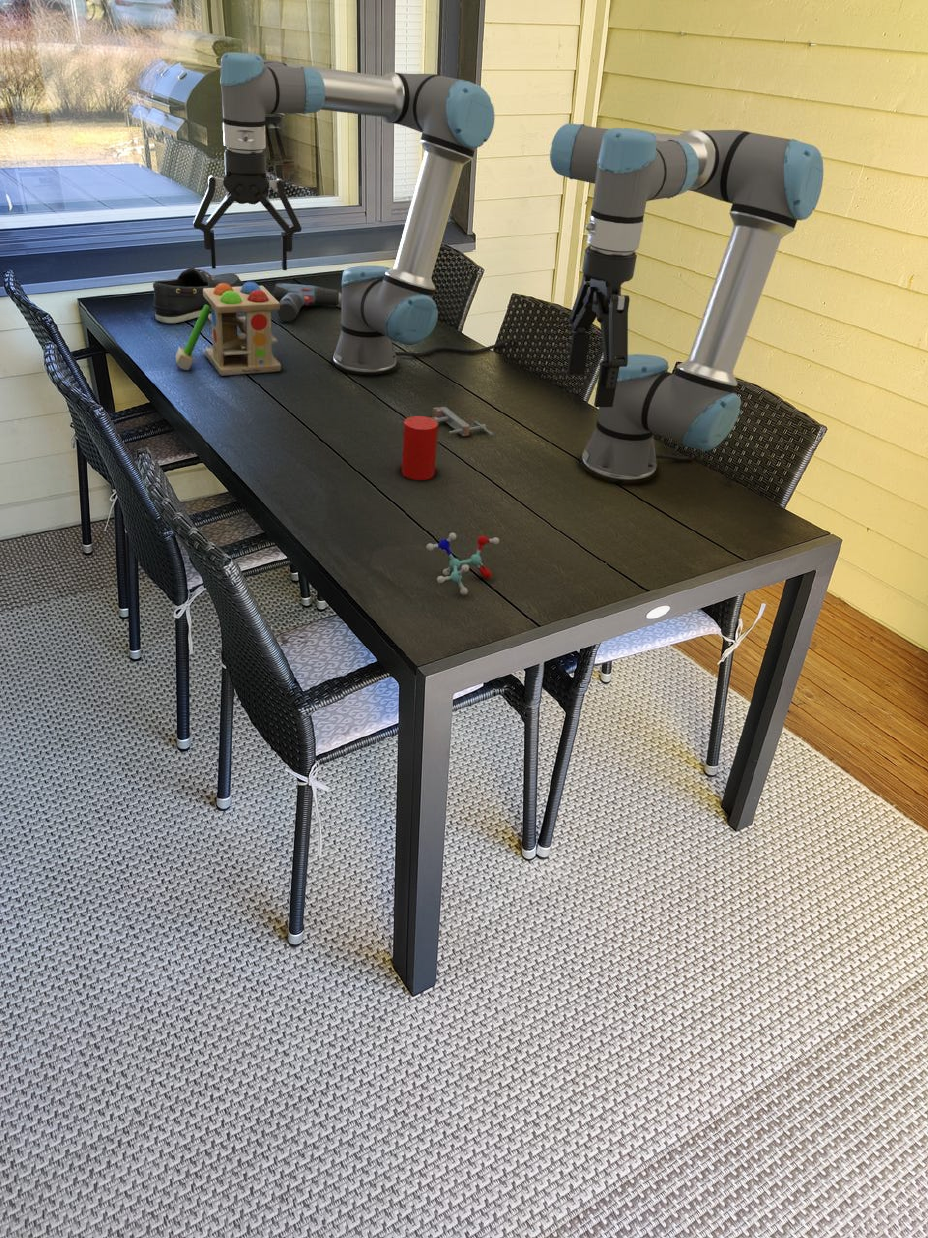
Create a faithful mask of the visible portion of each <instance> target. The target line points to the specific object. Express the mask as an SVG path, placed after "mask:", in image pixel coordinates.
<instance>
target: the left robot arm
mask: <svg viewBox="0 0 928 1238" xmlns="http://www.w3.org/2000/svg"><path fill="white" fill-rule="evenodd" d="M219 84H220V89H221V91H220V92H221V104H222V106H221V107H222V131H223V134H222V135H223V146H224V147H225V148H226V149H225V150H224V152H223V153H224V172H225V173H224V177H218V176H215V175H213V174H210V175H208V180H207V189H206V191H205V193H204V196H203V198H202V200H201V203H200V205H199V207H198V210H197V212H196V215H195V216H194V219H193V221H192V223H193V224H192V226H193V228H194V229H195V230H200V231H202V233H203V245H204V247H203V248H204V249H205V250H206V251H207V250H208V251H209V250H210V263H211V269H217V263H216V262H217V261H216V245H215V244H216V243H215V242H216V241H215V231H214V229H213V228H214V227H215V225H217V223H218V221H219V220H220V219H221V218H222V217H223V216H224V214H225V213H226V212H227V210H228V209H229V208H230V207H231V206H232V205H233V204H234V202H235V203H237V204H239V205H245V204H249V205H254V206H255V205H256V204H258V203H260V204H261V205H262V206H263V207H264V208H265V210H266V211H267V212H268V213H269V215H270V216H271V217H272V218H273V219H274V221H275V222H276V223H277V224H278V226H279V227H280V228H281V229H282V230H283V231H282V232H280V235H281V237H280V239H281V240H280V241H281V267H282V271H287V270H288V259H287V258H288V255H287V253H288V252H289V253H292V251H293V235H294V234H296V233H301V231H302V226H301V224H300V222H299V219H298V218H297V215H296V213H295V212H294V208H293V207H292V204H291V203H290V201H289V199H288V197H287V195H286V192H285V184H284V181H283V179H282V178H281V177H277V178H276V179H268V177H267V154H266V153H265V151H264V150H265V149H266V145H267V143H266V114H267V115H269V114H271V115H272V114H302V115H307V114H313V113H318V112H319V111H329V112H335V113H345V114H355V115H363V116H371V117H379V118H381V119H382V121H384V122H385V123H387V124H394V125H399V126H402V127H406V128H408V129H412V130H414V131H417V132H419V133H421V137H420V141H419V143H420V144H421V147H422V149H423V151H424V152H423V156H422V161H421V164H420V169H419V171H418V175H417V179H416V183H415V186H414V190H413V195H412V198H411V201H410V205H409V208H408V212H407V213H408V214H407V217H406V220H405V224H404V228H403V230H402V234H401V238H400V242H399V246H398V250H397V254H396V257H395V261H394V264H393V266H391V267H388V266H383V265H357V266H356V265H355V266H351V267H347V268H346V269H344V271H343V272H342V277H341V284H340V288H341V294H342V302H341V316H340V317H341V319H340V321H341V324H340V325H341V326H340V329H341V330H340V336H339V338H338V341H337V344H336V348H335V350H334V352H333V361H332V362H333V363H332V364H333V366H334V367H335V368H337V369H338V370H339V371H342V372H344V373H347V374H352V375H356V376H380V375H381V376H382V375H386V374H389V373H391V372H393V371H395V369H396V368H397V361H398V360H397V357H398V356H399V357H417V358H418V357H424V356H428V355H430V354H432V353H435V352H438V351H449V352H456V353H463V354H480V353H485V352H489V351H491V350H494V349H497V348H500V347H502V346H503V345H505V344H507V343H509V342H508V340H507V339H508V338H505V339H503V340H501V341H500V342H498V343H495V344H492V345H489V346H486V347H483V348H478V349H466V348H459V347H453V346H436V347H433V348H429V349H428V350H425V351H423V352H408V351H395V347H394V343H393V342H397V343H398V344H402V345H405V346H413V345H417V344H420V343H421V342H422V341H423V340H426V339H427V338H428V337H429V336H430V335H431V334H432V332H433V331H434V329H435V327H436V325H437V322H438V319H439V318H438V317H439V311H438V308H437V304H436V302H435V301H434V299H433V297H434V294H435V291H436V286H435V284H434V282H433V279H432V276H433V273H434V270H435V266H436V262H437V259H438V255H439V251H440V248H441V245H442V241H443V237H444V235H445V230H446V227H447V224H448V220H449V217H450V213H451V209H452V206H453V204H454V203H453V202H454V199H455V196H456V192H457V189H458V185H459V181H460V178H461V175H462V172H463V168H464V166H465V165H466V164H467V163H469V162H471V161H472V160H473V158H474V156H475V152H476V149H478V148H480V147H482V146H483V145H484V144H485V143H486V142H488V140H489V139H490V137H491V135H492V134H493V129H494V126H495V108H494V104H493V103H492V100H491V99H492V98H491V96H490V95H489V93H488V92H487V91H486V90H485V89H484V88H483V87H482V86H480V85H478V84H476V83H474V82H471V81H470V80H465V79H459V78H454V77H450V76H444V75H441V74H435V73H403V72H393V71H390V72H387V73H386V74H384V76H382V75H377V74H376V75H375V74H371V73H370V74H369V73H363V72H356V71H348V70H340V69H334V68H328V67H321V66H312V65H306V64H300V63H294V62H293V63H291V62H284V61H277V60H271V59H264V58H263V57H262V56H261V55H260V54H256V53H251V52H250V53H249V52H239V51H238V52H234V51H233V52H231V51H230V52H226V53H224V54H222V56H221V59H220V79H219ZM221 186H223V187H224V188H225V190H226V191H227V194H226V195H225V196H224V198H223V199H222V200H221V202H220V203H219V205H217V207H216V208H215V210H214V211H213V212H212V213H211V214H210V215H209V217H208V218H207V219H206V221H205V222H203V221H204V219H205V216H206V214H207V212H208V209H209V207H210V205H211V202H212V200H213V198H214V196H215V193H216V191H218V190H219V189H220V187H221ZM270 188H272V190H273V192H274V193H277V194H278V197H279V199H280V201H281V203H282V205H283V208H284V209H285V211H286V213H287V216H288V217H289V220H290V222H291V225H289V224H288V222H287V221H286V219H284V217H283V216H282V215H281V214H280V212H279V211H278V210H277V208H275V206H274V204H272V202H271V201H270V200H269V199H268V197H267V196H266V193H267V192H268V190H269V189H270ZM510 343H513V344H514V345H517V344H516V343H515V342H512V341H511V342H510Z"/></svg>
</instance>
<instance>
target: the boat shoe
mask: <svg viewBox="0 0 928 1238" xmlns="http://www.w3.org/2000/svg"><path fill="white" fill-rule="evenodd" d="M221 283H226V284H228V285H230V286H231V287H242V286H243V281H242V280H241V279H240V277H239V276H238V275H237V274H235V273H231V272H230V273H228V272H227V273H223V274H217V275H213V276H212V275H211V274H210V273H209V272H207V271H205V270H204V269H199V268H195V267H189V268H187V269H184V270H183V271H182V272H180V274H179V275H178V276H177V278H176V279H170V280H169V279H168V280H156V281H153V282H152V289H153V304H152V308H154V310H155V311H154V317H155V320H156V321H159V322H160V323H164V324H176V323H177V324H178V323H183V322H186V321H190V320H193V319H198V318H199V316H200V314H201V311H202V309H203V307H204V305H208V306H210V307H211V305H210V304H209V302H208V301H207V300H206V299H205V297H204V296H203V289H204V288H215V287H216V286H217V285H218V284H221ZM210 312H211V310H210Z"/></svg>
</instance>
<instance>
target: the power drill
mask: <svg viewBox="0 0 928 1238" xmlns="http://www.w3.org/2000/svg"><path fill="white" fill-rule="evenodd" d="M274 298H275V299H276V300H277V301H278V302H279V303H280V310H277V315H278V318H279V319H280V320H281V321H284V322H292V321H293V320H295V318H296V317H297V316H298V314H299V312H300V310H301V309H302V307H303V306H306V307H309V306H312V307H313V306H338V305H339V304H342V292H340V291H339V290H338V289H335V288H334V289H332V288H325V287H321V286H316V285H307V284H297V283H281V282H276V283H275V285H274Z"/></svg>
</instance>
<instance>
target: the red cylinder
mask: <svg viewBox="0 0 928 1238" xmlns="http://www.w3.org/2000/svg"><path fill="white" fill-rule="evenodd" d="M432 418H433V417H429V416H424V415H414V416H409V417H407V418H405V419H404V422H403V442H402V456H401V457H402V460H401V474H402V475H403V476H404V477H405V478H406V479H410V480H414V481H425V480H430V479H432V478H433V477H434V476H435V471H436V457H437V445H438V444H437V443H438V430H439V424H438V422H437V421H436V420H434V419H432Z"/></svg>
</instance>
